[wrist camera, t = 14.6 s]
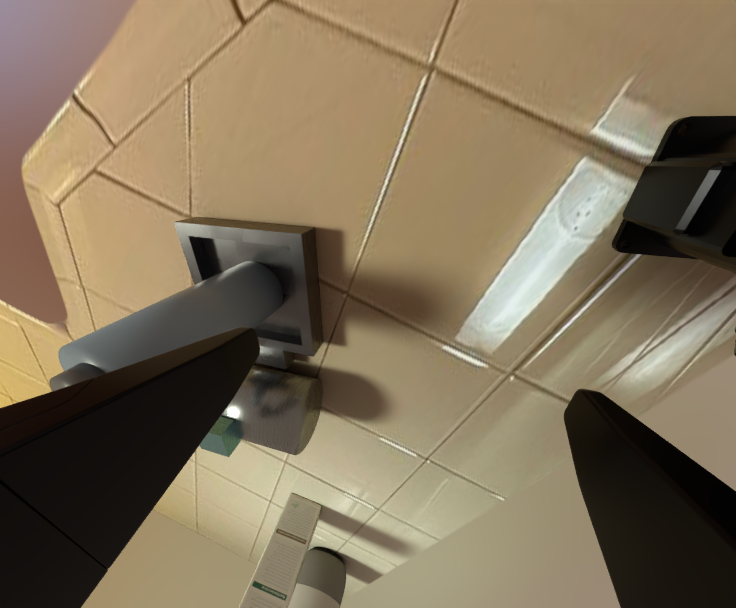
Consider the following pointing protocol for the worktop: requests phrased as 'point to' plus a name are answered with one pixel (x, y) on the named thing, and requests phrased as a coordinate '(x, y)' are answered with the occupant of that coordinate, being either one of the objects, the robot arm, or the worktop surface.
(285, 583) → the syrup box
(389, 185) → the worktop surface
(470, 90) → the worktop surface
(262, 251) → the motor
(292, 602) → the smart speaker
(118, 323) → the blue-grey capped bottle
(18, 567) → the robot arm
